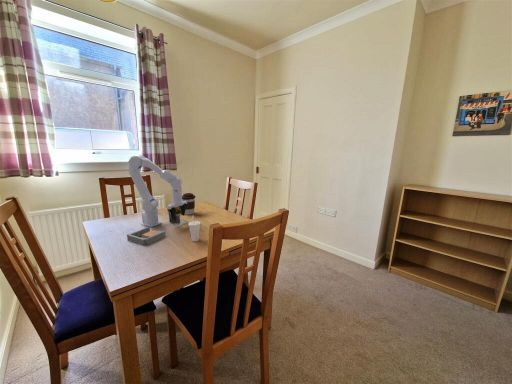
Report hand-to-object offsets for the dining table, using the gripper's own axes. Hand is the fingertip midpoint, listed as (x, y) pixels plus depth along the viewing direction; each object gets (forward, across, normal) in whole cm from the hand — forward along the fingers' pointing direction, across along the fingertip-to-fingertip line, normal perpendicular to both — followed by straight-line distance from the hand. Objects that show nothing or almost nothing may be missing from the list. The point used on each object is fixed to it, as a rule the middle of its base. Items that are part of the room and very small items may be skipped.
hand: (178, 216), depth 139 cm
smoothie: (+5, -14, -26) cm, 30 cm away
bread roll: (+5, +16, +21) cm, 27 cm away
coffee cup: (+5, +19, +9) cm, 22 cm away
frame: (+5, -24, -1) cm, 24 cm away
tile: (+5, -21, -1) cm, 22 cm away
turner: (+5, 0, +2) cm, 5 cm away
